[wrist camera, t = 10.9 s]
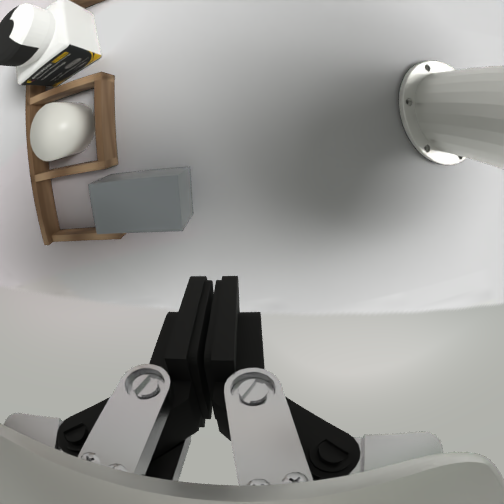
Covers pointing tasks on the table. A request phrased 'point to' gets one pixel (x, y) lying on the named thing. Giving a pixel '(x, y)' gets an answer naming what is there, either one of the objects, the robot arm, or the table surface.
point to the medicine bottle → (48, 42)
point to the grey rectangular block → (142, 201)
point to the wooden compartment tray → (105, 156)
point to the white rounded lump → (61, 130)
